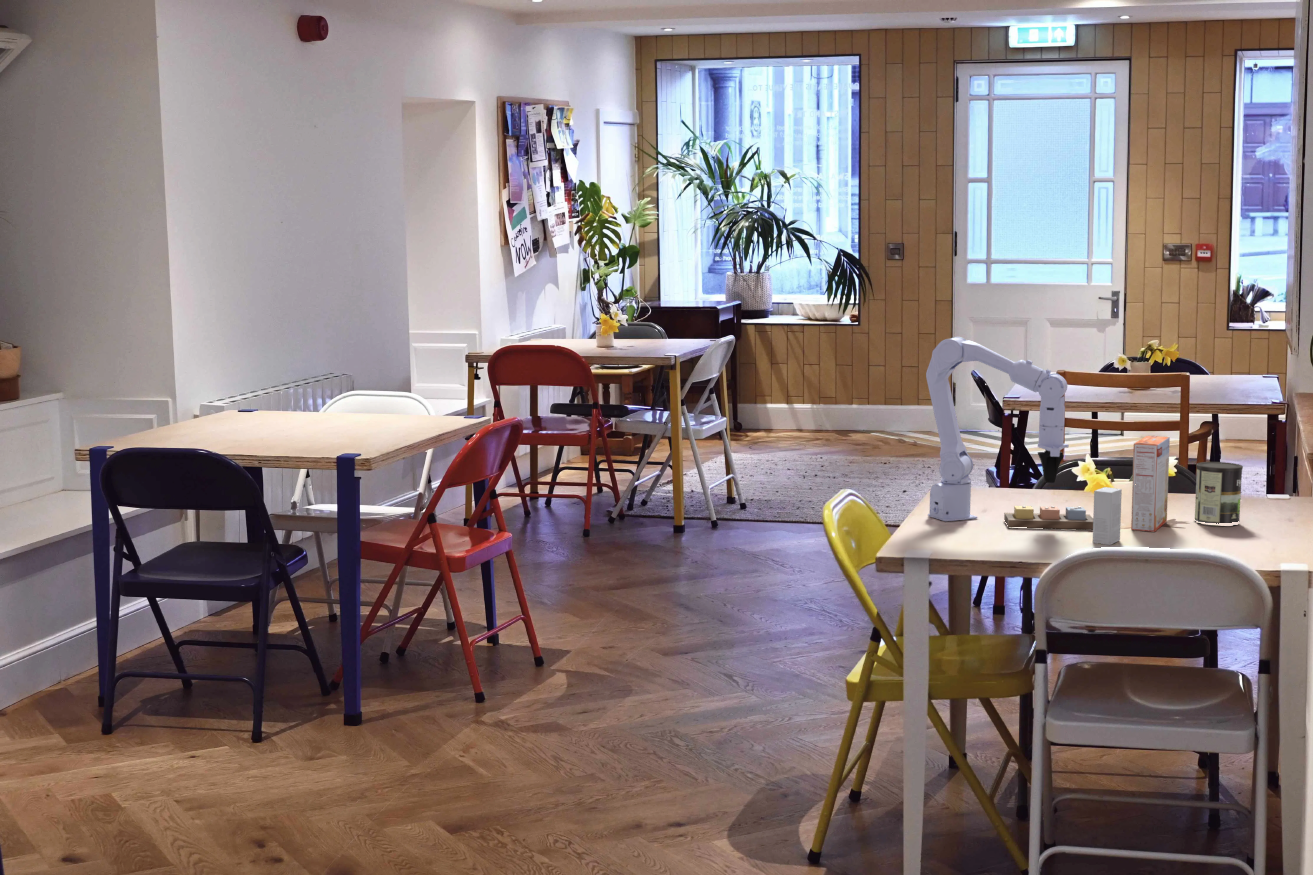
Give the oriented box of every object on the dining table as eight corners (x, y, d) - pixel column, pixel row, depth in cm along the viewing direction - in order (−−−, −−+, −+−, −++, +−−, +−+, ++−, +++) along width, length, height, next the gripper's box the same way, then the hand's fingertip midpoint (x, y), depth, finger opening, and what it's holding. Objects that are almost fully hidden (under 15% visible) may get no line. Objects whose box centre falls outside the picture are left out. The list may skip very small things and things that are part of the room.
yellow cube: (1015, 523, 331) (1016, 507, 330) (1013, 520, 335) (1014, 504, 334) (1033, 523, 330) (1033, 508, 330) (1030, 520, 334) (1031, 505, 334)
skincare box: (1101, 538, 317) (1104, 486, 315) (1120, 541, 314) (1122, 488, 313) (1091, 542, 313) (1093, 490, 311) (1109, 545, 310) (1112, 492, 308)
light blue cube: (1067, 524, 329) (1068, 508, 329) (1065, 521, 333) (1065, 505, 333) (1085, 525, 329) (1086, 509, 328) (1082, 521, 333) (1083, 506, 332)
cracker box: (1141, 520, 338) (1145, 434, 335) (1167, 522, 335) (1171, 436, 332) (1128, 530, 326) (1132, 441, 323) (1155, 532, 323) (1159, 443, 320)
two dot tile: (1041, 524, 330) (1042, 508, 329) (1039, 520, 334) (1040, 505, 333) (1059, 524, 329) (1059, 508, 329) (1056, 521, 333) (1057, 505, 333)
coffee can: (1238, 519, 338) (1241, 462, 336) (1241, 528, 328) (1244, 469, 326) (1192, 517, 341) (1195, 460, 339) (1194, 525, 331) (1197, 467, 329)
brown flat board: (1008, 528, 329) (1008, 519, 328) (1004, 520, 338) (1004, 512, 337) (1095, 530, 326) (1096, 521, 326) (1089, 522, 335) (1089, 514, 335)
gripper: (1073, 430, 321) (1071, 487, 323) (1064, 421, 335) (1062, 477, 337) (1042, 429, 322) (1040, 487, 324) (1034, 421, 336) (1032, 476, 338)
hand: (1049, 482), depth 331 cm, fingers closed
